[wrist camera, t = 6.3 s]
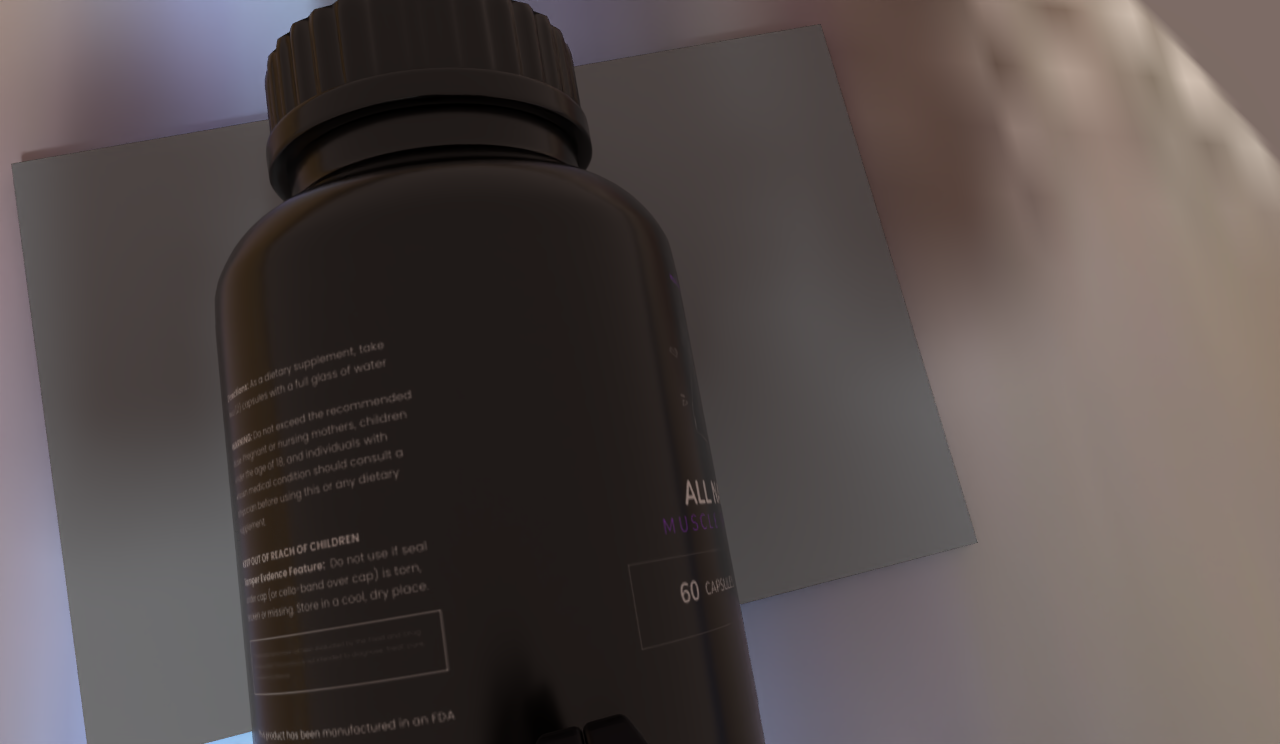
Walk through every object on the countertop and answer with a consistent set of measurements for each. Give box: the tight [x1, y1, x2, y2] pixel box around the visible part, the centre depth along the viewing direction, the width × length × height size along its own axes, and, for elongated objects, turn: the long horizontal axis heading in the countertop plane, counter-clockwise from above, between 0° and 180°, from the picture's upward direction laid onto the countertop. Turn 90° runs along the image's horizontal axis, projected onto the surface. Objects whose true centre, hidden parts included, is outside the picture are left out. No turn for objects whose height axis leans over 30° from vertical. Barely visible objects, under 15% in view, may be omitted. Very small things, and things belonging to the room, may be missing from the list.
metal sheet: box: [11, 24, 978, 744], centre depth 18 cm, size 11×16×1 cm
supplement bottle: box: [215, 0, 765, 744], centre depth 14 cm, size 7×7×12 cm
